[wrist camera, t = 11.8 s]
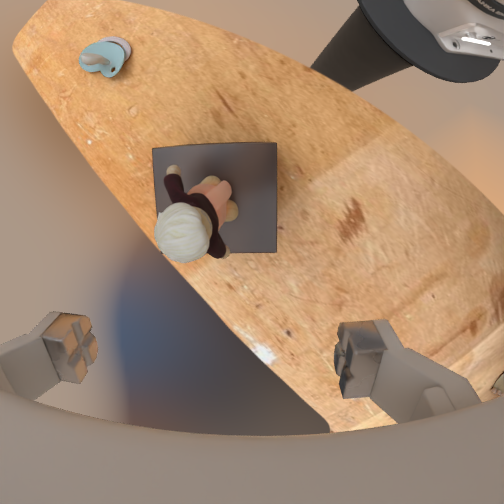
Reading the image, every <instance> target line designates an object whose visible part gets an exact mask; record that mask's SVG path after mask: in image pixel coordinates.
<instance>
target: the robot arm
mask: <svg viewBox="0 0 504 504" xmlns="http://www.w3.org/2000/svg"><path fill="white" fill-rule="evenodd" d="M403 1H404V3H405V5H406V6H407V8H408V9H409V11H410V12H411V13H412V14H413V16H414V17H415V18H416V19H417V20H418V21H419V22H420V23H421V24H422V25H423V26H424V27H426V28H427V29H428V30H429V31H430V32H431V33H432V34H433V35H434V37H435V39H436V40H437V42H438V44H439V45H440V46H441V48H442V49H443V50H444V51H445V52H447V53H455V54H464V55H472V56H479V57H486V58H492V59H498V60H504V0H403ZM453 44H454V46H455V47H454V46H453ZM91 328H92V325H91V322H90V319H89V318H88V317H87V316H85V315H78V314H70V313H62V312H50V313H49V314H48V315H47V316H46V317H45V318H44V319H43V320H42V321H41V322H40V323H39V324H38V325H37V326H36V327H35V328H34V329H33V330H32V331H31V332H30V333H29V334H24V335H22V336H20V337H17V338H15V339H12V340H10V341H8V342H5V343H3V344H1V345H0V504H504V395H503V396H500V397H497V398H494V399H491V400H488V401H485V402H481V400H480V398H479V397H478V395H477V394H476V392H475V391H474V389H473V388H472V386H471V385H470V383H469V381H468V380H467V379H466V378H464V377H462V376H460V375H458V374H457V373H455V372H453V371H451V370H449V369H447V368H445V367H443V366H442V365H440V364H438V363H436V362H434V361H432V360H430V359H429V358H427V357H425V356H423V355H421V354H419V353H417V352H416V351H414V350H412V349H410V348H404V347H403V345H402V343H401V341H400V340H399V338H398V336H397V335H396V333H395V332H394V330H393V328H392V327H391V325H390V323H389V322H388V320H386V319H378V320H370V321H357V322H342V323H340V324H339V327H338V332H337V335H338V338H339V342H338V343H337V344H336V345H335V351H334V366H335V371H336V374H337V375H339V376H340V381H339V386H340V389H341V393H342V396H343V399H348V398H361V397H370V399H371V400H372V401H374V402H375V403H376V404H377V405H378V406H379V407H380V408H381V409H382V410H384V411H385V412H386V413H387V414H388V415H389V416H390V417H391V418H393V419H394V420H395V421H396V422H397V423H398V424H393V425H388V426H382V427H375V428H368V429H361V430H354V431H345V432H336V433H326V434H313V435H293V436H233V435H213V434H200V433H188V432H178V431H170V430H161V429H154V428H147V427H141V426H134V425H129V424H124V423H118V422H113V421H108V420H103V419H99V418H94V417H90V416H86V415H82V414H78V413H74V412H70V411H66V410H63V409H59V408H56V407H52V406H49V405H45V404H42V403H39V402H36V401H34V400H35V399H37V398H38V397H40V396H41V395H42V394H44V393H45V392H47V391H48V390H49V389H51V388H52V387H54V386H55V385H56V384H58V383H59V382H60V380H61V381H66V382H71V383H77V384H81V382H82V380H83V379H84V377H85V376H86V374H87V372H88V370H87V366H89V365H91V364H93V363H94V361H95V359H96V357H97V352H98V347H97V341H96V338H95V336H94V335H93V334H92V333H91V332H90V331H91Z"/></svg>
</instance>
